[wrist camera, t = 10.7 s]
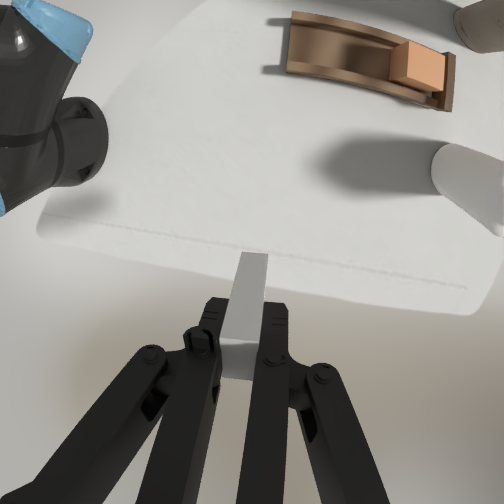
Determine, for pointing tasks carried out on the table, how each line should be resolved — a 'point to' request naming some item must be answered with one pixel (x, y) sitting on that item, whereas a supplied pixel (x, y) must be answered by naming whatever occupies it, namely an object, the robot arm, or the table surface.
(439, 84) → the block
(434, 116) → the table surface
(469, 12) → the thermos bottle
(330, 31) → the chute
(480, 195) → the white bottle
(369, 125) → the table surface
